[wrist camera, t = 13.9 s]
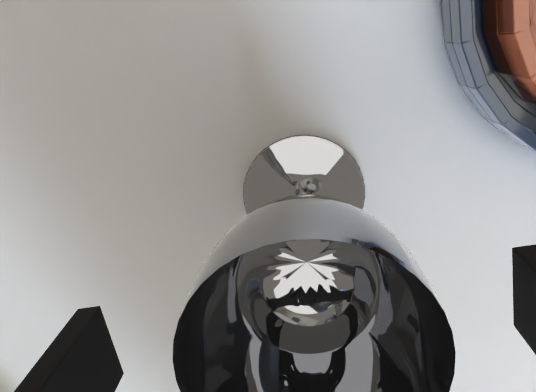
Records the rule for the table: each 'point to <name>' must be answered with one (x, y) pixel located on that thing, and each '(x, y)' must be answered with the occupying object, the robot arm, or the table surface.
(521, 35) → the small bowl
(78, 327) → the robot arm
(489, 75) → the serving bowl
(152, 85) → the table surface
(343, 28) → the table surface
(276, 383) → the wine glass
